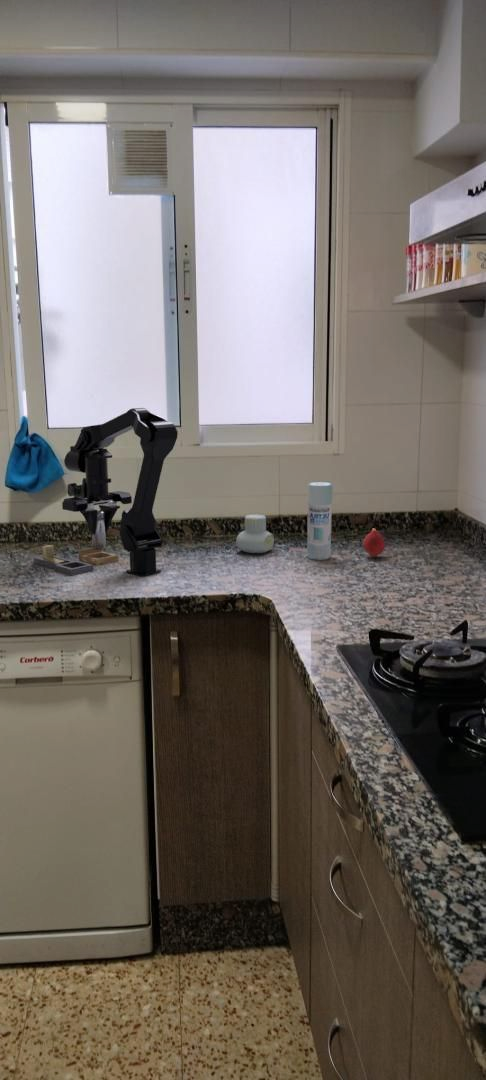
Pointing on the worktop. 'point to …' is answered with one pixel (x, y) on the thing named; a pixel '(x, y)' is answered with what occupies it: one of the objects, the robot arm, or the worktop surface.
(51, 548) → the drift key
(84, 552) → the wooden tray
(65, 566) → the socket block
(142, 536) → the robot arm
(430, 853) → the worktop surface
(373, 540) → the onion
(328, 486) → the spray paint can
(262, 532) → the air freshener
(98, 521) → the salt shaker
